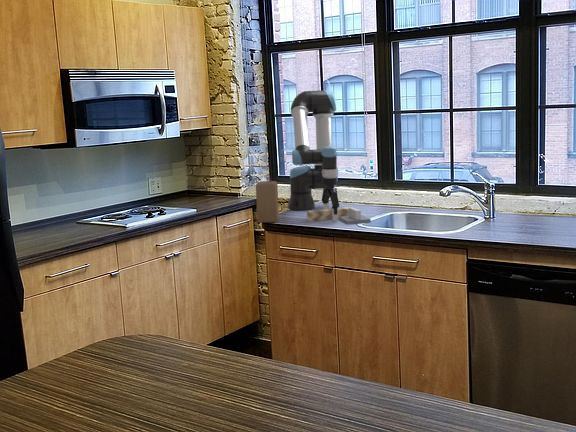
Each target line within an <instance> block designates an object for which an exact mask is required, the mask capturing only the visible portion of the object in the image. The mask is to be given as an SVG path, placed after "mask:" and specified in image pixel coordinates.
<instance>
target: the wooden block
mask: <svg viewBox="0 0 576 432" xmlns="http://www.w3.org/2000/svg"><path fill="white" fill-rule="evenodd" d="M278 187H279V185H278V182H277V181H276V180H269V181H267V180H262V181H258V182H257V183H256V184H255V194H256V195H255V196H256V213H257V214H256V219H257V222H258V223H260V224H265V223H267V224H269V223H270V224H271V223H276V222H278V220H279V218H280V217H279V213H280V212H279V191H278V190H279V189H278Z"/></svg>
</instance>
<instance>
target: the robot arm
mask: <svg viewBox="0 0 576 432" xmlns="http://www.w3.org/2000/svg"><path fill="white" fill-rule="evenodd" d="M336 103H337V102H336V97H335V94H334V92H333V90H328V89H323V90H305V91H302V92H299V94H297V95H296V96H295V97H294V99H293V100H292V102H291V105H290V114H291V116H292V119H293V121H292V122H293V135H294V149H293V150H292V151H291V160H292V164H293V165H296V167H293V168H291V169H290V171H289V179H290V181H289V183H290V185H289V186H290V188H289V189H290V195H289V199H288V203H287V209H288V210H290V211H311V210H315V208H316V203H315V200H314V198H313V195H312V190H322V195H321V202H322V204H323V205H322V206H323V209H322V210H324V209H330V203H331V205H332V206H331V209H332V219H331V221H332V222H338V220H339V219H338V208H340V203H339V201H340V200H339V197H338V188H336V187H337V185H338V178H339V167H338V164H337V160H338V159H337V157H338V156H337V154H338V151H337V147H336V146H333V142H332V141H333V140H332V137H333V136H332V135H333V134H332V117H333V116H334V115H335V114H334V113H335V112H336V111H337V104H336ZM309 113H312V117H313V118H315V138H316V139H315V141H316V143H315V144H316V149H310V138H309V137H310V135H309V127H308V126H309V125H308V115H309ZM298 165H299V166H298ZM311 165H313V166H314V168H313V167H312V166H311ZM329 200H330V201H329Z"/></svg>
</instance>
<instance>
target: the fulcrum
mask: <svg viewBox="0 0 576 432" xmlns="http://www.w3.org/2000/svg"><path fill="white" fill-rule="evenodd" d="M350 207H351V208H349V216H343V217H339V219H338V220H339V221H341V222H343V223H345V224H346V225H352V223H355V224H364V223H371V221H372V220H371V218H369V217H367V216H365V215H363V214H362V213H361V211H362V210H361V209H358V208H355V206H354V207H352V206H350Z"/></svg>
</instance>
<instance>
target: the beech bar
mask: <svg viewBox="0 0 576 432" xmlns="http://www.w3.org/2000/svg"><path fill="white" fill-rule="evenodd" d="M351 207H352V206H346V207H338V218H339V217H343V216H349V208H351ZM306 216H307V217H306V218H307V219H306V220H307V221H308V222H309V223H310V222H319V221H320V222H321V221H329V220H332V208H329V209H324V210H323V209H316V210H315V209H312V210H306Z"/></svg>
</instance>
